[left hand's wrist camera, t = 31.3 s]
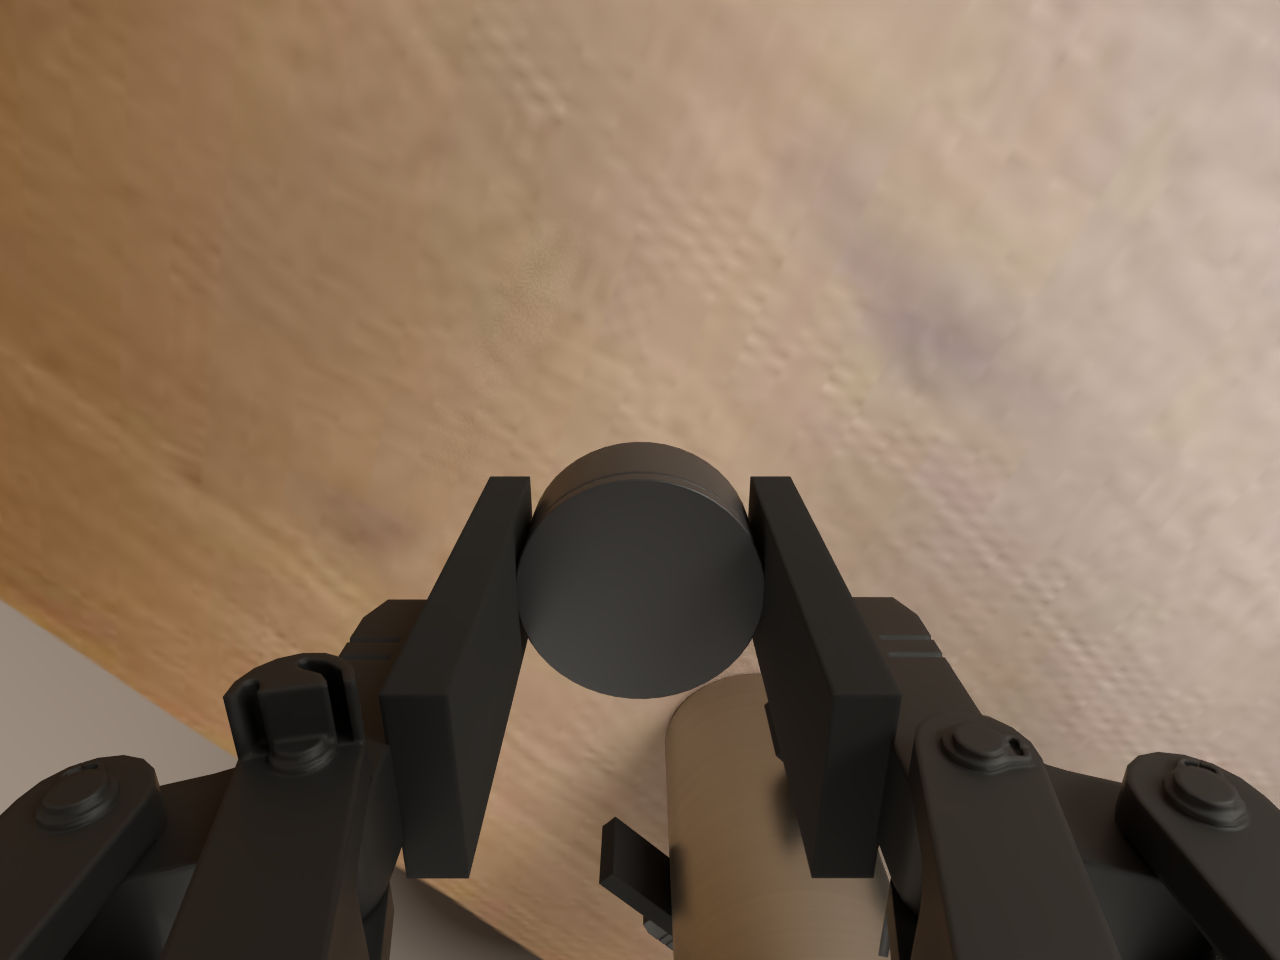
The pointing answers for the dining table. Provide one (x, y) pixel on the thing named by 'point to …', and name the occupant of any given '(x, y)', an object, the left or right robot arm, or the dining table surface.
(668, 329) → the dining table surface
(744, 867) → the bottle
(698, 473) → the cap
